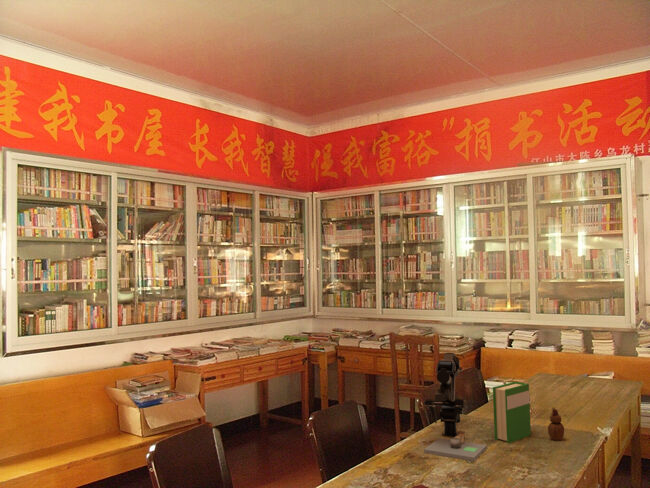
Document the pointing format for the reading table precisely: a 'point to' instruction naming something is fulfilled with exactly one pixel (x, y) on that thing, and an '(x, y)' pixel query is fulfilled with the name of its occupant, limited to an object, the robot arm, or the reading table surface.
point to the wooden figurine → (555, 426)
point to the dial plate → (456, 449)
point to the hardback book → (511, 411)
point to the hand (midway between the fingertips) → (445, 423)
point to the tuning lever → (457, 440)
